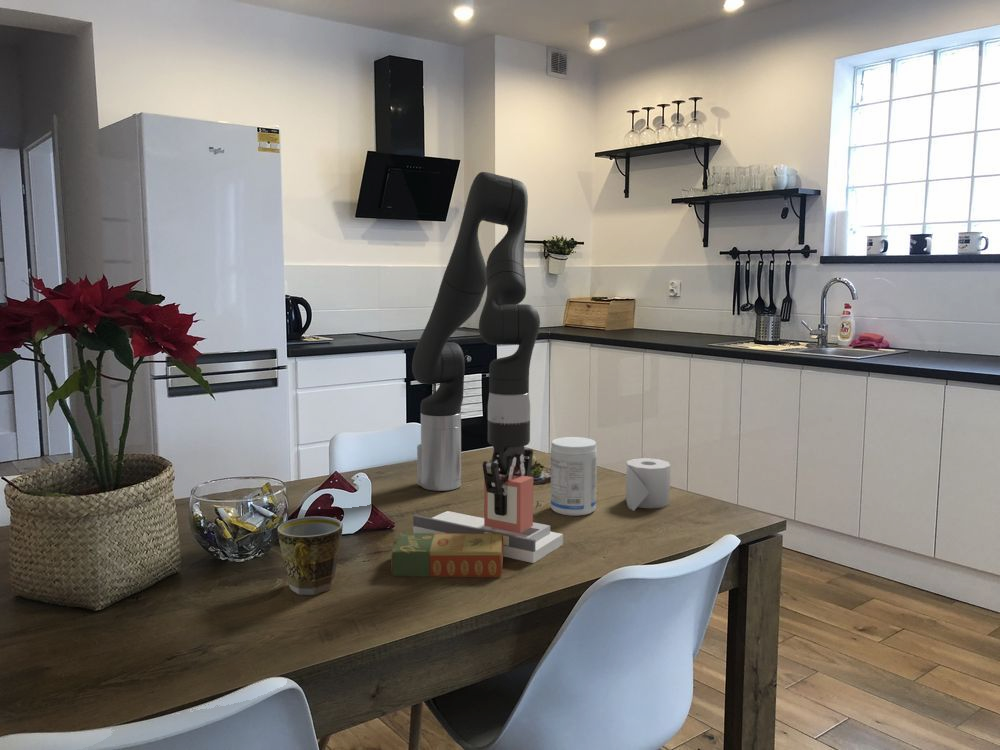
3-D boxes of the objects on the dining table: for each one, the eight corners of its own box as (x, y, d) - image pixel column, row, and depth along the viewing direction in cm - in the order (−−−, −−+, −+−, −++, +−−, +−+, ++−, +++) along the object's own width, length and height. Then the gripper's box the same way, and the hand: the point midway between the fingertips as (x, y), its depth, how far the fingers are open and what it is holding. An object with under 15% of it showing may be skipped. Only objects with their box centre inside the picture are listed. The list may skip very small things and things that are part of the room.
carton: (501, 579, 132) (502, 551, 131) (390, 578, 133) (389, 549, 132) (503, 558, 142) (503, 531, 141) (399, 557, 142) (398, 530, 141)
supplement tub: (573, 500, 175) (574, 434, 173) (605, 511, 168) (607, 442, 166) (540, 509, 169) (541, 440, 167) (572, 520, 162) (573, 448, 160)
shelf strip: (413, 536, 152) (412, 515, 151) (447, 520, 161) (447, 501, 161) (533, 563, 138) (533, 541, 138) (563, 544, 148) (563, 523, 147)
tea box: (520, 533, 141) (520, 483, 140) (484, 525, 145) (484, 477, 144) (533, 525, 145) (533, 477, 144) (497, 518, 149) (497, 471, 148)
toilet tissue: (629, 513, 167) (630, 472, 166) (624, 495, 180) (625, 457, 179) (673, 514, 166) (675, 473, 165) (665, 496, 179) (666, 458, 178)
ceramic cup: (290, 574, 133) (288, 515, 132) (350, 575, 133) (348, 516, 131) (264, 607, 120) (262, 542, 119) (331, 608, 120) (329, 543, 119)
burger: (558, 485, 188) (558, 454, 187) (507, 485, 188) (507, 454, 187) (555, 472, 200) (555, 443, 199) (507, 472, 200) (507, 442, 199)
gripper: (506, 426, 134) (505, 525, 137) (546, 413, 146) (545, 504, 149) (468, 421, 138) (468, 518, 141) (511, 409, 150) (511, 498, 153)
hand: (508, 510), depth 145 cm, fingers closed on tea box, 4 cm apart
